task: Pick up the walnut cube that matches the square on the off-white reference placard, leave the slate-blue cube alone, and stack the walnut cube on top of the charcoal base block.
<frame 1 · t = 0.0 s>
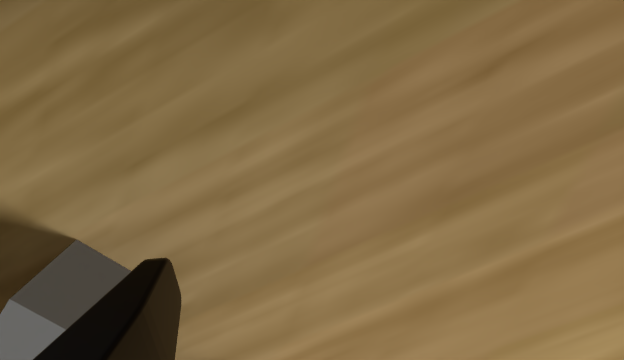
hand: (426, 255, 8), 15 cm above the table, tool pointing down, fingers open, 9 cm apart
base block: (100, 307, 26), on the table
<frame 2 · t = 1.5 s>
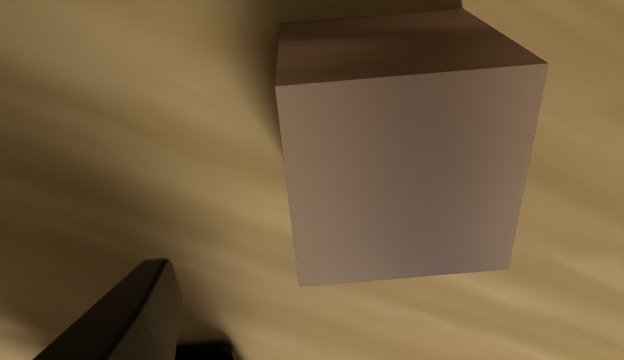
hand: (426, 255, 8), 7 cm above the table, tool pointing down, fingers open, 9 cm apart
walnut cube: (371, 101, 14), on the table
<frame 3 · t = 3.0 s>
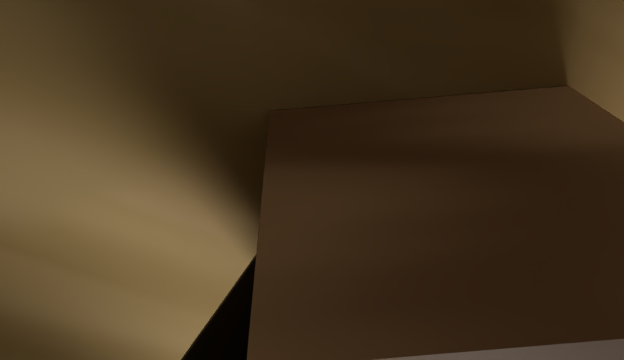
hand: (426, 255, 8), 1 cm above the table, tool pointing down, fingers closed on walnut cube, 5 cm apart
walnut cube: (412, 219, 9), on the table, touching gripper
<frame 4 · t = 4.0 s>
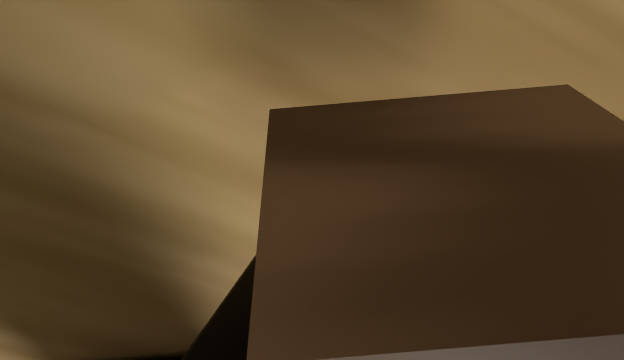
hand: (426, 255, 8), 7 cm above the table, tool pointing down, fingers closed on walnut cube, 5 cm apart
walnut cube: (412, 218, 9), point 6 cm above the table, touching gripper
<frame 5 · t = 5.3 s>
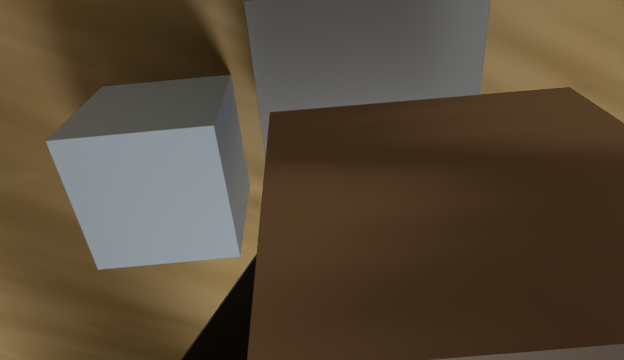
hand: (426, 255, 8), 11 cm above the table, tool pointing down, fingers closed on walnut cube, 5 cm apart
slate cube: (181, 138, 19), on the table
walnut cube: (413, 221, 9), point 10 cm above the table, touching gripper
base block: (345, 50, 18), on the table
when the fingers open (8 cm above the table, at t = 6.6 s): walnut cube drops 2 cm, resting on base block.
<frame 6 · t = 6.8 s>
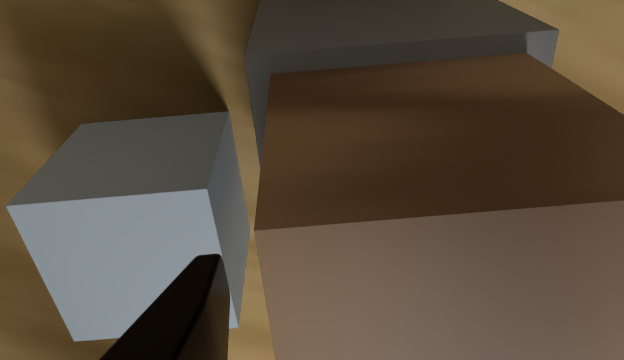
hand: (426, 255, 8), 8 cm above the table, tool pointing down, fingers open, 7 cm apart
slate cube: (172, 179, 17), on the table
walnut cube: (395, 174, 10), point 6 cm above the table, touching base block
base block: (361, 85, 16), on the table, touching walnut cube
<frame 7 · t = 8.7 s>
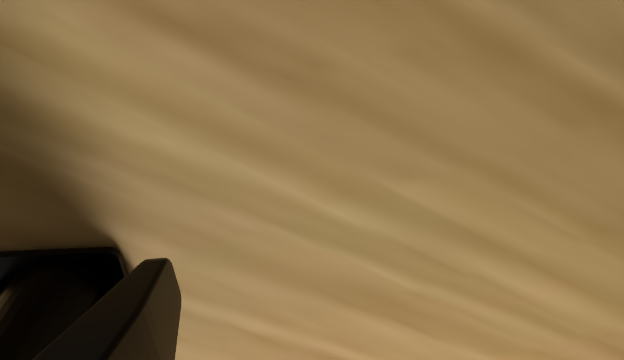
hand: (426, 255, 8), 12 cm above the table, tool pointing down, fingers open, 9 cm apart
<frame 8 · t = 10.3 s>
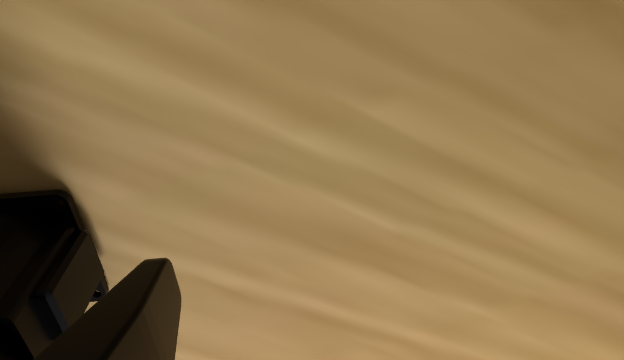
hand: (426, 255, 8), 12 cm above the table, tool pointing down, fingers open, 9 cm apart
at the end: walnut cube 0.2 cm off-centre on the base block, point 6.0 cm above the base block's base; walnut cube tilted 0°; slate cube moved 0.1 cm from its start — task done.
